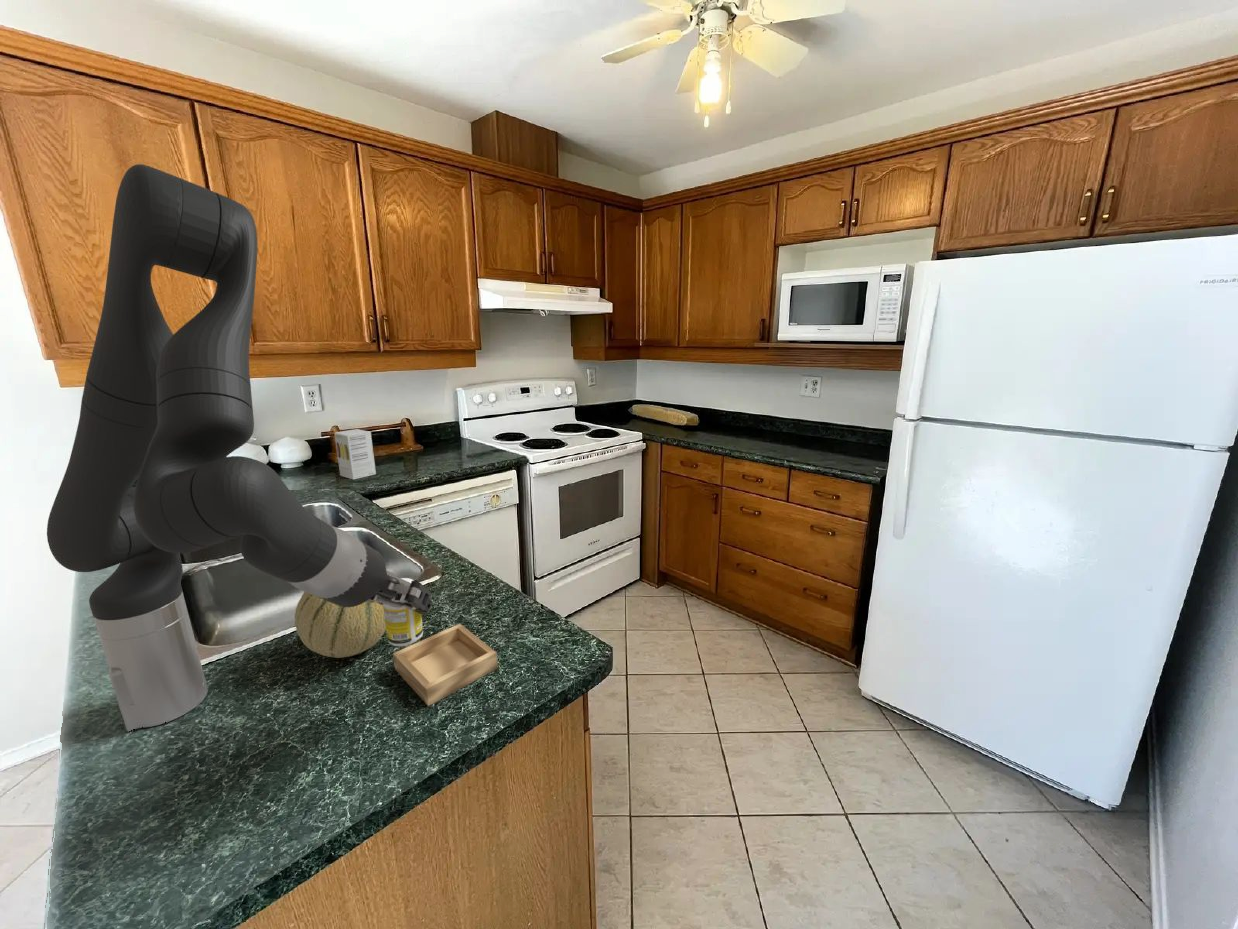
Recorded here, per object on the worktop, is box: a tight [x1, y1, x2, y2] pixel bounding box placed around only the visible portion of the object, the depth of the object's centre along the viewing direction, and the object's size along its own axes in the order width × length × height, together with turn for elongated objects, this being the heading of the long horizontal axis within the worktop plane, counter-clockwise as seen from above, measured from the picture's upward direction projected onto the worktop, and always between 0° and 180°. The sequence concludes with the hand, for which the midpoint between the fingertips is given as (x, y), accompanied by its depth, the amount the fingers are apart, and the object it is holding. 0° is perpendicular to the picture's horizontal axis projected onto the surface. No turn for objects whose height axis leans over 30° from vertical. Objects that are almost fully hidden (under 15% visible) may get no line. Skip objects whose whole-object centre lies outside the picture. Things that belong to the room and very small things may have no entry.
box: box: [392, 623, 499, 707], centre depth 82 cm, size 12×12×3 cm
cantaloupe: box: [294, 591, 386, 659], centre depth 86 cm, size 15×15×15 cm
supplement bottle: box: [383, 577, 424, 647], centre depth 71 cm, size 5×5×8 cm
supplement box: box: [334, 428, 377, 480], centre depth 189 cm, size 10×9×17 cm
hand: (411, 604), depth 73 cm, fingers closed on supplement bottle, 4 cm apart
